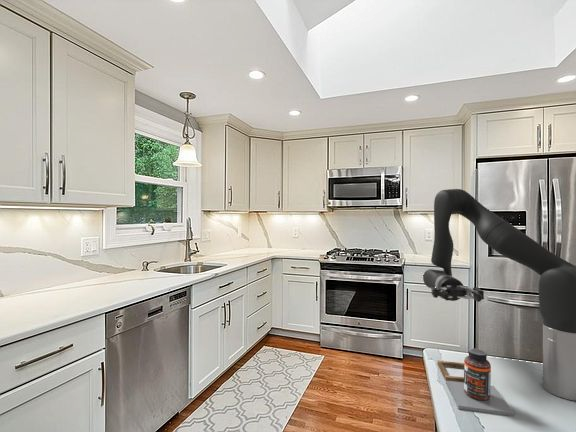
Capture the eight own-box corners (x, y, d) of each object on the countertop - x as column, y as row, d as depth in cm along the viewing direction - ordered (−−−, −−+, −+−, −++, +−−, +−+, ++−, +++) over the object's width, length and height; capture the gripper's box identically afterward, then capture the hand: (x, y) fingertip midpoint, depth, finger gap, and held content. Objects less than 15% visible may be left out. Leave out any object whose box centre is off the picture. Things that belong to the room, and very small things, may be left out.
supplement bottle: (463, 397, 81) (464, 353, 81) (463, 386, 86) (463, 344, 86) (491, 404, 78) (492, 358, 78) (489, 392, 83) (489, 349, 83)
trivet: (493, 388, 86) (493, 385, 86) (514, 416, 75) (514, 412, 75) (445, 383, 89) (445, 380, 89) (458, 408, 77) (458, 405, 77)
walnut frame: (473, 368, 98) (473, 364, 98) (486, 385, 88) (486, 381, 88) (437, 364, 101) (437, 360, 101) (445, 381, 90) (445, 376, 90)
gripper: (426, 275, 111) (436, 284, 96) (471, 276, 108) (489, 285, 92) (426, 297, 111) (437, 309, 95) (471, 298, 108) (490, 311, 92)
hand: (463, 297), depth 94 cm, fingers open, 8 cm apart
